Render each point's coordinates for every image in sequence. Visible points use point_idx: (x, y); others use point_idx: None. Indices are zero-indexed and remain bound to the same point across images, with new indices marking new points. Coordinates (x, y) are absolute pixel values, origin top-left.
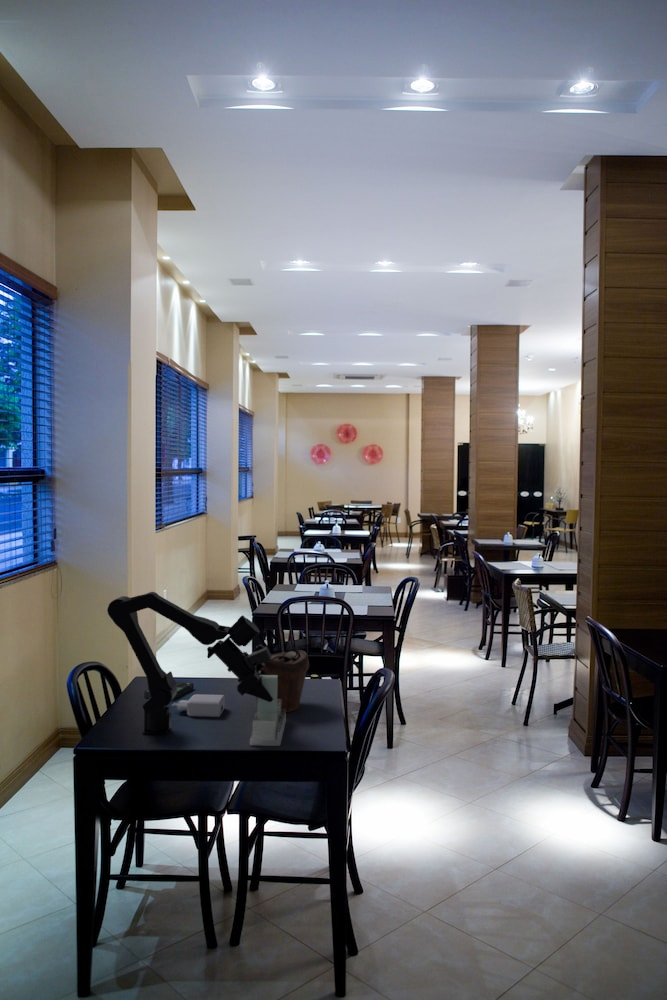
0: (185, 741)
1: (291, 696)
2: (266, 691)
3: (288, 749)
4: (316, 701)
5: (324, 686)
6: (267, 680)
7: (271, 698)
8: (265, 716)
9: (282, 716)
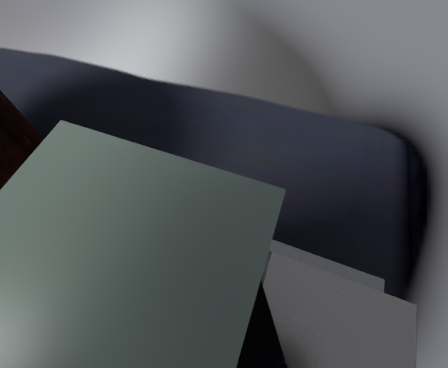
0: None
1: (19, 131)
2: (281, 351)
3: (392, 261)
4: (21, 88)
5: None
6: (237, 361)
7: (260, 281)
8: (326, 342)
9: None
